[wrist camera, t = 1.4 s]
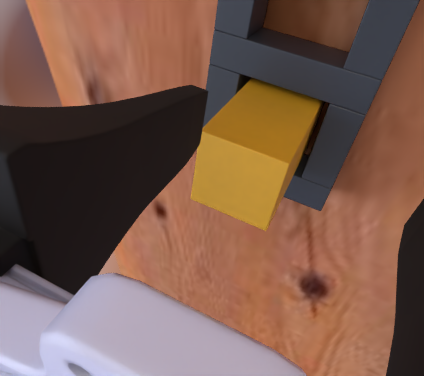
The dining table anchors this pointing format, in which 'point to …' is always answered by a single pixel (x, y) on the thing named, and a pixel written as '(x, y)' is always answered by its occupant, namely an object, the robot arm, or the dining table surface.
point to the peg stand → (307, 78)
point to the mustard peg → (253, 151)
